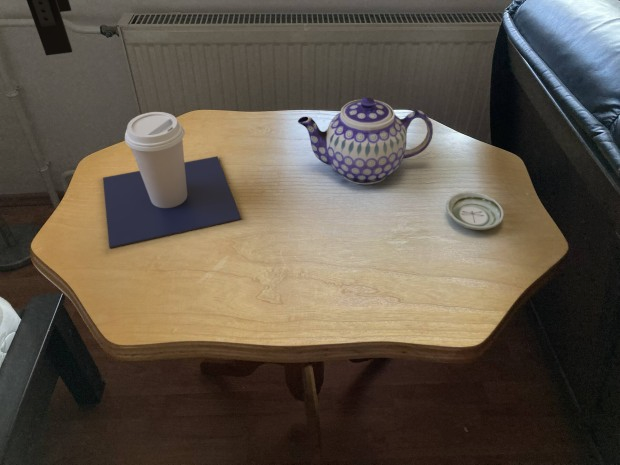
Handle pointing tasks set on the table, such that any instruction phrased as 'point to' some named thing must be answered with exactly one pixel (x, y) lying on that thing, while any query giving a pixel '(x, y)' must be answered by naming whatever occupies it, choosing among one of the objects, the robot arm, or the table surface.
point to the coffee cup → (159, 156)
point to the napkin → (167, 221)
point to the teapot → (365, 140)
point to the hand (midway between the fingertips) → (59, 30)
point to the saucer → (474, 210)
